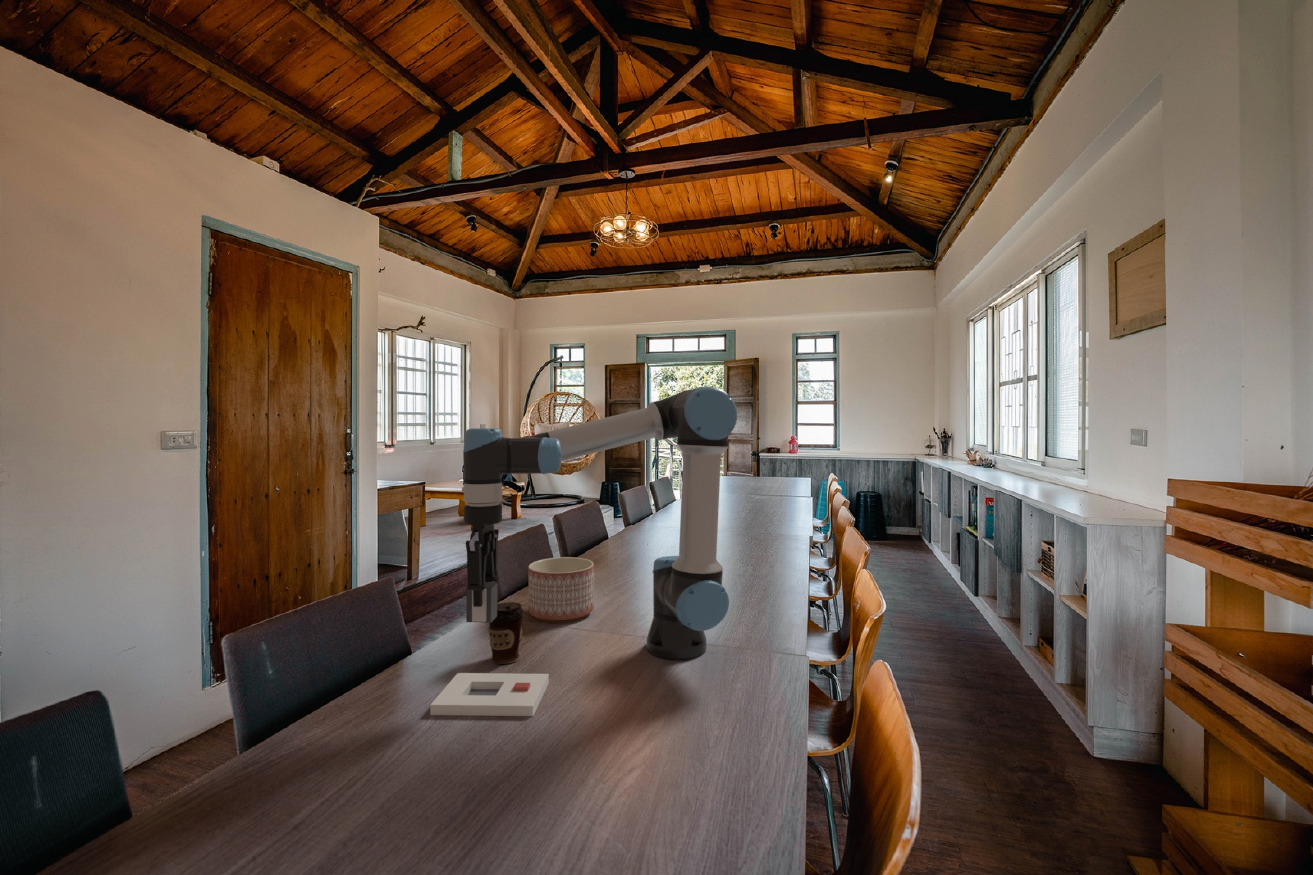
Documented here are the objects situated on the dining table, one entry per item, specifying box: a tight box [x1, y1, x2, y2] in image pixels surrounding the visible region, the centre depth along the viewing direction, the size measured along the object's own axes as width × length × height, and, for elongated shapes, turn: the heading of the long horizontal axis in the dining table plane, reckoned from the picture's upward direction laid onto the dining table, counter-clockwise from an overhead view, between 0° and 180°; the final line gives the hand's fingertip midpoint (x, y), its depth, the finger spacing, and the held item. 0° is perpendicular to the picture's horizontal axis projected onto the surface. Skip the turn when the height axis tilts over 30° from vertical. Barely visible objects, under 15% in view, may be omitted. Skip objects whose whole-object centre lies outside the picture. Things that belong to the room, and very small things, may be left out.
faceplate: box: [429, 672, 550, 717], centre depth 115 cm, size 20×14×3 cm
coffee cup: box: [488, 601, 525, 665], centre depth 134 cm, size 9×8×13 cm
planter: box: [527, 556, 595, 624], centre depth 167 cm, size 19×19×15 cm
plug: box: [465, 582, 498, 624], centre depth 115 cm, size 5×4×7 cm
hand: (483, 617), depth 115 cm, fingers closed on plug, 4 cm apart
